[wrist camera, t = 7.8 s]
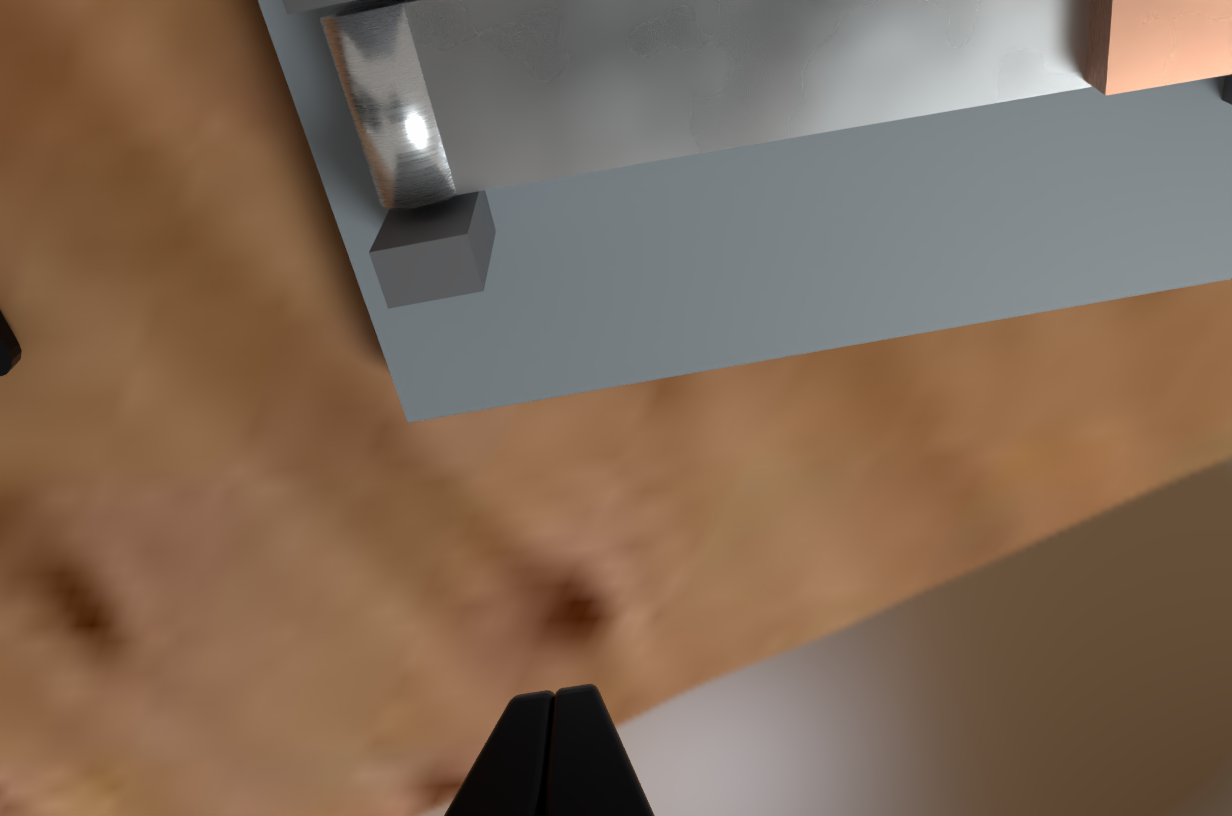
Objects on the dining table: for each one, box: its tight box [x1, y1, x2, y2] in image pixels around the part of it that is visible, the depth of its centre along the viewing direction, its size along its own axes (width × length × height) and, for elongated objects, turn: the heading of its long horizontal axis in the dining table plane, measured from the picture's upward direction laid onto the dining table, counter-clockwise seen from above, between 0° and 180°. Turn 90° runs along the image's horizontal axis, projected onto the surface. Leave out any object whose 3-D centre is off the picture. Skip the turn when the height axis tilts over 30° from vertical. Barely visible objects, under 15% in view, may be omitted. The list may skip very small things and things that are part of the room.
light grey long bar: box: [320, 0, 1232, 210], centre depth 15 cm, size 15×3×2 cm, turn 101°
